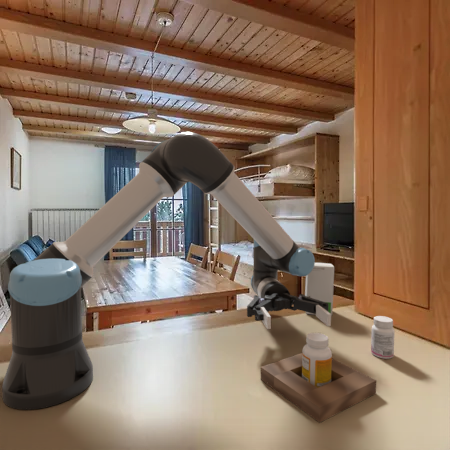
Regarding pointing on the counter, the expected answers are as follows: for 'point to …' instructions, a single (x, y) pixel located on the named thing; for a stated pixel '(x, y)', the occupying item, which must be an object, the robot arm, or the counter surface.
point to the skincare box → (321, 284)
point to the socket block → (323, 396)
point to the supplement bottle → (316, 360)
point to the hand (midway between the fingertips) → (299, 321)
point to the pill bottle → (382, 337)
